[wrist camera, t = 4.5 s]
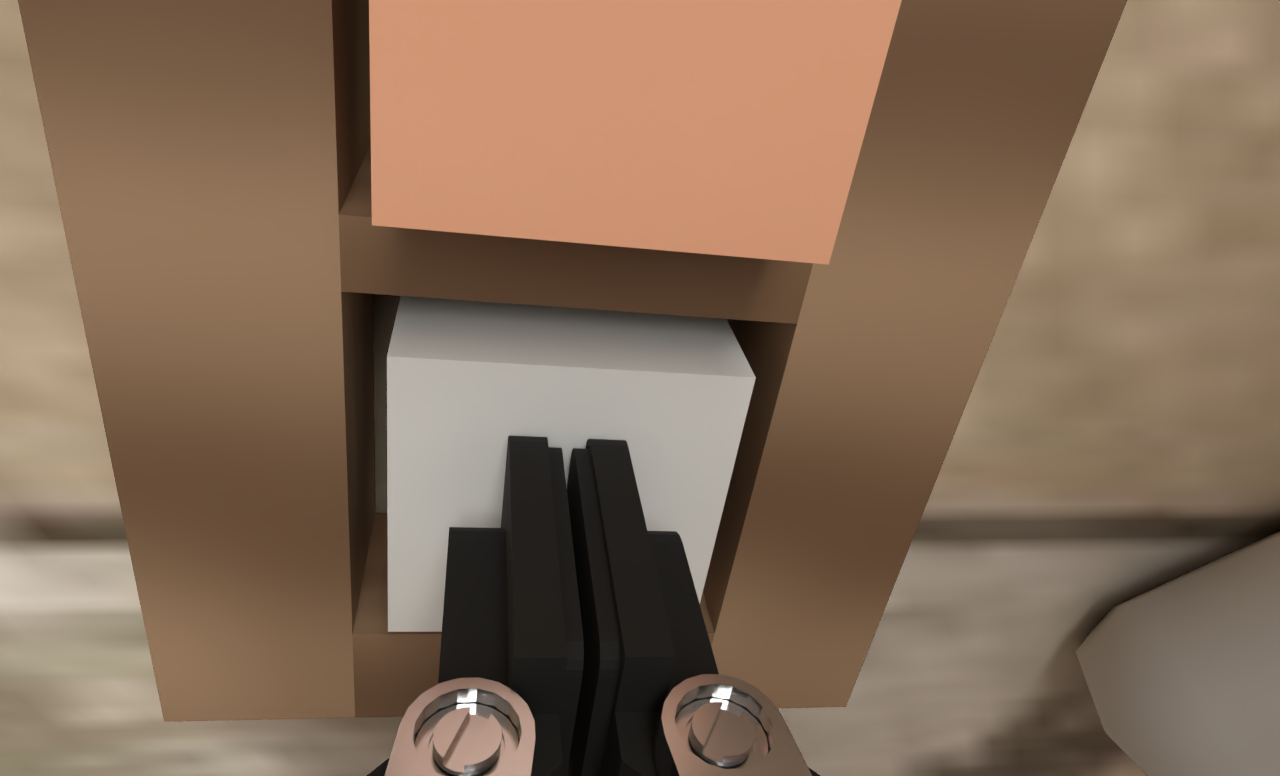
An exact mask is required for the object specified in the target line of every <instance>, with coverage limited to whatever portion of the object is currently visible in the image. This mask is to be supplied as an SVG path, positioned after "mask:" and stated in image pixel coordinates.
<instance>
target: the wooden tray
mask: <svg viewBox="0 0 1280 776" xmlns="http://www.w3.org/2000/svg"><path fill="white" fill-rule="evenodd" d="M1126 2H1127V0H902V1H901V5H900V8H899V12H898V16H897V19H896V23H895V27H894V30H893V34H892V37H891V41H890V45H889V48H888V52H887V56H886V59H885V63H884V66H883V70H882V74H881V77H880V81H879V85H878V88H877V92H876V95H875V99H874V103H873V106H872V110H871V114H870V117H869V121H868V124H867V128H866V132H865V135H864V139H863V142H862V146H861V150H860V153H859V157H858V161H857V164H856V168H855V171H854V175H853V179H852V182H851V186H850V190H849V193H848V197H847V200H846V204H845V208H844V211H843V215H842V219H841V222H840V226H839V229H838V233H837V237H836V240H835V244H834V247H833V251H832V255H831V258H830V262H829V265H827V264H816V263H804V262H793V261H781V260H769V259H758V258H746V257H734V256H723V255H711V254H700V253H688V252H676V251H665V250H653V249H642V248H630V247H618V246H607V245H595V244H583V243H572V242H560V241H549V240H537V239H525V238H514V237H502V236H490V235H479V234H467V233H456V232H444V231H432V230H421V229H409V228H398V227H386V226H374V225H372V202H371V136H370V57H369V0H18V3H19V8H20V13H21V18H22V23H23V27H24V32H25V37H26V42H27V47H28V52H29V57H30V62H31V67H32V72H33V77H34V82H35V87H36V92H37V97H38V101H39V106H40V111H41V116H42V121H43V126H44V131H45V136H46V141H47V146H48V151H49V156H50V161H51V166H52V171H53V175H54V180H55V185H56V190H57V195H58V200H59V205H60V210H61V215H62V220H63V225H64V230H65V235H66V240H67V245H68V249H69V254H70V259H71V264H72V269H73V274H74V279H75V284H76V289H77V294H78V299H79V304H80V309H81V314H82V318H83V323H84V328H85V333H86V338H87V343H88V348H89V353H90V358H91V363H92V368H93V373H94V378H95V383H96V388H97V392H98V397H99V402H100V407H101V412H102V417H103V422H104V427H105V432H106V437H107V442H108V447H109V452H110V457H111V462H112V466H113V471H114V476H115V481H116V486H117V491H118V496H119V501H120V506H121V511H122V516H123V521H124V526H125V531H126V536H127V540H128V545H129V550H130V555H131V560H132V565H133V570H134V575H135V580H136V585H137V590H138V595H139V600H140V605H141V610H142V614H143V619H144V624H145V629H146V634H147V639H148V644H149V649H150V654H151V659H152V664H153V669H154V674H155V679H156V683H157V688H158V693H159V698H160V703H161V708H162V713H163V718H164V722H169V721H215V720H261V719H306V718H352V717H398V716H404V715H405V713H406V711H407V709H408V707H409V706H410V705H411V704H412V703H413V702H414V701H415V700H416V699H417V698H418V697H419V696H420V695H421V694H422V693H423V692H425V691H427V690H429V689H430V688H432V687H434V686H436V685H437V684H438V677H439V663H440V649H441V635H442V632H388V520H387V514H375V452H374V373H373V294H383V295H397V296H411V297H425V298H439V299H453V300H467V301H481V302H495V303H510V304H524V305H538V306H552V307H566V308H580V309H594V310H608V311H622V312H636V313H650V314H664V315H678V316H693V317H707V318H721V319H727V321H728V323H729V325H730V327H731V329H732V331H733V333H734V335H735V337H736V339H737V341H738V343H739V345H740V347H741V349H742V351H743V353H744V355H745V357H746V359H747V361H748V363H749V365H750V367H751V369H752V371H753V373H754V375H755V377H756V379H755V383H754V387H753V391H752V395H751V399H750V403H749V407H748V411H747V415H746V419H745V423H744V427H743V431H742V435H741V439H740V443H739V447H738V451H737V456H736V460H735V464H734V468H733V472H732V476H731V480H730V484H729V488H728V492H727V496H726V500H725V504H724V508H723V512H722V516H721V520H720V524H719V528H718V532H717V536H716V540H715V544H714V548H713V552H712V556H711V560H710V565H709V569H708V573H707V577H706V581H705V585H704V589H703V593H702V597H701V601H700V607H701V611H702V615H703V618H704V622H705V625H706V629H707V633H708V636H709V640H710V644H711V647H712V651H713V654H714V658H715V662H716V665H717V669H718V673H719V674H722V675H726V676H730V677H735V678H739V679H741V680H743V681H745V682H747V683H749V684H751V685H753V686H755V687H756V688H758V689H759V690H760V691H761V692H762V693H763V694H765V695H766V696H767V697H768V698H769V699H770V700H771V701H772V702H773V704H774V705H775V706H776V708H808V707H846V705H847V702H848V700H849V697H850V695H851V692H852V690H853V687H854V685H855V682H856V680H857V677H858V675H859V672H860V670H861V667H862V665H863V662H864V660H865V657H866V655H867V652H868V650H869V647H870V645H871V642H872V640H873V637H874V635H875V632H876V630H877V627H878V625H879V622H880V620H881V617H882V615H883V612H884V610H885V607H886V605H887V602H888V600H889V597H890V595H891V592H892V590H893V587H894V584H895V582H896V579H897V577H898V574H899V572H900V569H901V567H902V564H903V562H904V559H905V557H906V554H907V552H908V549H909V547H910V544H911V542H912V539H913V537H914V534H915V532H916V529H917V527H918V524H919V522H920V519H921V517H922V514H923V512H924V509H925V507H926V504H927V502H928V499H929V497H930V494H931V492H932V489H933V487H934V484H935V482H936V479H937V477H938V474H939V472H940V469H941V466H942V464H943V461H944V459H945V456H946V454H947V451H948V449H949V446H950V444H951V441H952V439H953V436H954V434H955V431H956V429H957V426H958V424H959V421H960V419H961V416H962V414H963V411H964V409H965V406H966V404H967V401H968V399H969V396H970V394H971V391H972V389H973V386H974V384H975V381H976V379H977V376H978V374H979V371H980V369H981V366H982V364H983V361H984V359H985V356H986V353H987V351H988V348H989V346H990V343H991V341H992V338H993V336H994V333H995V331H996V328H997V326H998V323H999V321H1000V318H1001V316H1002V313H1003V311H1004V308H1005V306H1006V303H1007V301H1008V298H1009V296H1010V293H1011V291H1012V288H1013V286H1014V283H1015V281H1016V278H1017V276H1018V273H1019V271H1020V268H1021V266H1022V263H1023V261H1024V258H1025V256H1026V253H1027V251H1028V248H1029V246H1030V243H1031V241H1032V238H1033V235H1034V233H1035V230H1036V228H1037V225H1038V223H1039V220H1040V218H1041V215H1042V213H1043V210H1044V208H1045V205H1046V203H1047V200H1048V198H1049V195H1050V193H1051V190H1052V188H1053V185H1054V183H1055V180H1056V178H1057V175H1058V173H1059V170H1060V168H1061V165H1062V163H1063V160H1064V158H1065V155H1066V153H1067V150H1068V148H1069V145H1070V143H1071V140H1072V138H1073V135H1074V133H1075V130H1076V128H1077V125H1078V123H1079V120H1080V117H1081V115H1082V112H1083V110H1084V107H1085V105H1086V102H1087V100H1088V97H1089V95H1090V92H1091V90H1092V87H1093V85H1094V82H1095V80H1096V77H1097V75H1098V72H1099V70H1100V67H1101V65H1102V62H1103V60H1104V57H1105V55H1106V52H1107V50H1108V47H1109V45H1110V42H1111V40H1112V37H1113V35H1114V32H1115V30H1116V27H1117V25H1118V22H1119V20H1120V17H1121V15H1122V12H1123V10H1124V7H1125V5H1126Z"/></svg>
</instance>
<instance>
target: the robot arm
mask: <svg viewBox="0 0 1280 776" xmlns="http://www.w3.org/2000/svg"><path fill="white" fill-rule="evenodd" d="M367 776H820V775H819V774H817V773H816V772H814V771H813V770H811V769H810V768H808V766H807V764H806V762H805V760H804V758H803V756H802V754H801V752H800V750H799V748H798V746H797V744H796V743H795V741H794V739H793V737H792V735H791V733H790V731H789V729H788V727H787V725H786V723H785V721H784V719H783V717H782V715H781V714H780V712H779V711H778V709H777V708H776V706H775V705H774V704H773V702H772V701H771V700H770V699H769V698H768V697H767V696H766V695H765V694H763V693H762V692H761V691H760V690H759V689H758V688H756V687H755V686H753V685H751V684H749V683H747V682H745V681H743V680H741V679H739V678H735V677H730V676H726V675H722V674H719V673H718V669H717V665H716V662H715V658H714V654H713V651H712V647H711V644H710V640H709V636H708V633H707V629H706V625H705V622H704V618H703V615H702V611H701V607H700V604H699V600H698V597H697V593H696V589H695V586H694V582H693V578H692V575H691V571H690V568H689V564H688V560H687V557H686V553H685V550H684V546H683V542H682V540H681V537H680V535H679V534H678V533H677V532H676V531H647V527H646V523H645V518H644V514H643V509H642V505H641V501H640V496H639V492H638V487H637V483H636V479H635V474H634V470H633V466H632V461H631V457H630V452H629V448H628V444H627V441H625V440H608V439H588V440H587V442H586V449H582V448H573V449H572V453H571V460H570V467H569V475H568V483H567V488H566V479H565V470H564V461H563V452H562V448H556V447H548V439H547V437H534V436H509V437H508V445H507V457H506V469H505V481H504V493H503V505H502V518H501V528H474V527H449V538H448V552H447V566H446V580H445V594H444V607H443V621H442V635H441V649H440V663H439V677H438V684H437V685H436V686H434V687H432V688H430V689H429V690H427V691H425V692H423V693H422V694H421V695H420V696H419V697H418V698H417V699H416V700H415V701H414V702H413V703H412V704H411V705H410V706H409V707H408V709H407V711H406V713H405V715H404V717H403V719H402V721H401V723H400V725H399V728H398V732H397V735H396V738H395V742H394V745H393V749H392V752H391V755H390V758H389V759H387V760H386V761H385V762H384V763H382V764H381V765H380V766H379V767H377V768H376V769H375V770H374V771H372V772H371V773H370V774H369V775H367Z"/></svg>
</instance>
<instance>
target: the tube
mask: <svg viewBox="0 0 1280 776" xmlns="http://www.w3.org/2000/svg"><path fill="white" fill-rule="evenodd" d="M1075 653H1076V655H1077V658H1078V661H1079V663H1080V666H1081V669H1082V672H1083V674H1084V677H1085V680H1086V683H1087V685H1088V688H1089V691H1090V693H1091V696H1092V699H1093V702H1094V704H1095V707H1096V710H1097V712H1098V715H1099V718H1100V721H1101V723H1102V726H1103V729H1104V731H1105V733H1106V734H1107V735H1108V736H1109V737H1110V738H1111V739H1112V740H1113V741H1114V742H1115V743H1116V744H1117V745H1118V746H1119V747H1120V748H1121V749H1122V750H1123V751H1124V752H1125V753H1126V754H1127V755H1128V756H1129V757H1130V758H1131V759H1132V760H1133V762H1134V763H1135V764H1136V765H1137V766H1138V767H1139V768H1140V769H1141V770H1142V771H1143V772H1144V773H1145V774H1146V775H1147V776H1280V531H1278V532H1276V533H1274V534H1271V535H1269V536H1267V537H1265V538H1263V539H1261V540H1258V541H1256V542H1254V543H1252V544H1250V545H1247V546H1245V547H1243V548H1241V549H1239V550H1237V551H1234V552H1232V553H1230V554H1228V555H1226V556H1223V557H1221V558H1219V559H1217V560H1215V561H1213V562H1210V563H1208V564H1206V565H1204V566H1202V567H1199V568H1197V569H1195V570H1193V571H1191V572H1189V573H1186V574H1184V575H1182V576H1180V577H1178V578H1175V579H1173V580H1171V581H1169V582H1167V583H1165V584H1162V585H1160V586H1158V587H1156V588H1154V589H1151V590H1149V591H1147V592H1145V593H1143V594H1141V595H1138V596H1136V597H1134V598H1132V599H1130V600H1127V601H1125V602H1123V603H1121V604H1119V605H1117V606H1114V607H1113V608H1112V609H1111V610H1110V611H1109V612H1108V614H1107V615H1106V616H1105V617H1104V618H1103V619H1102V620H1101V621H1100V622H1099V623H1098V624H1097V625H1096V626H1095V628H1094V629H1093V630H1092V631H1091V633H1090V634H1089V635H1088V637H1087V638H1086V639H1085V640H1084V642H1083V643H1082V644H1081V645H1080V647H1079V648H1078V649H1077V651H1076V652H1075Z"/></svg>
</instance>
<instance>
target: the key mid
mask: <svg viewBox="0 0 1280 776" xmlns="http://www.w3.org/2000/svg"><path fill="white" fill-rule="evenodd" d="M901 1H902V0H369V43H370V122H371V202H372V225H374V226H386V227H398V228H409V229H421V230H432V231H444V232H456V233H467V234H479V235H490V236H502V237H514V238H525V239H537V240H549V241H560V242H572V243H583V244H595V245H607V246H618V247H630V248H642V249H653V250H665V251H676V252H688V253H700V254H711V255H723V256H734V257H746V258H758V259H769V260H781V261H793V262H804V263H816V264H827V265H829V262H830V258H831V255H832V251H833V247H834V244H835V240H836V237H837V233H838V229H839V226H840V222H841V219H842V215H843V211H844V208H845V204H846V200H847V197H848V193H849V190H850V186H851V182H852V179H853V175H854V171H855V168H856V164H857V161H858V157H859V153H860V150H861V146H862V142H863V139H864V135H865V132H866V128H867V124H868V121H869V117H870V114H871V110H872V106H873V103H874V99H875V95H876V92H877V88H878V85H879V81H880V77H881V74H882V70H883V66H884V63H885V59H886V56H887V52H888V48H889V45H890V41H891V37H892V34H893V30H894V27H895V23H896V19H897V16H898V12H899V8H900V5H901Z"/></svg>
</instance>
